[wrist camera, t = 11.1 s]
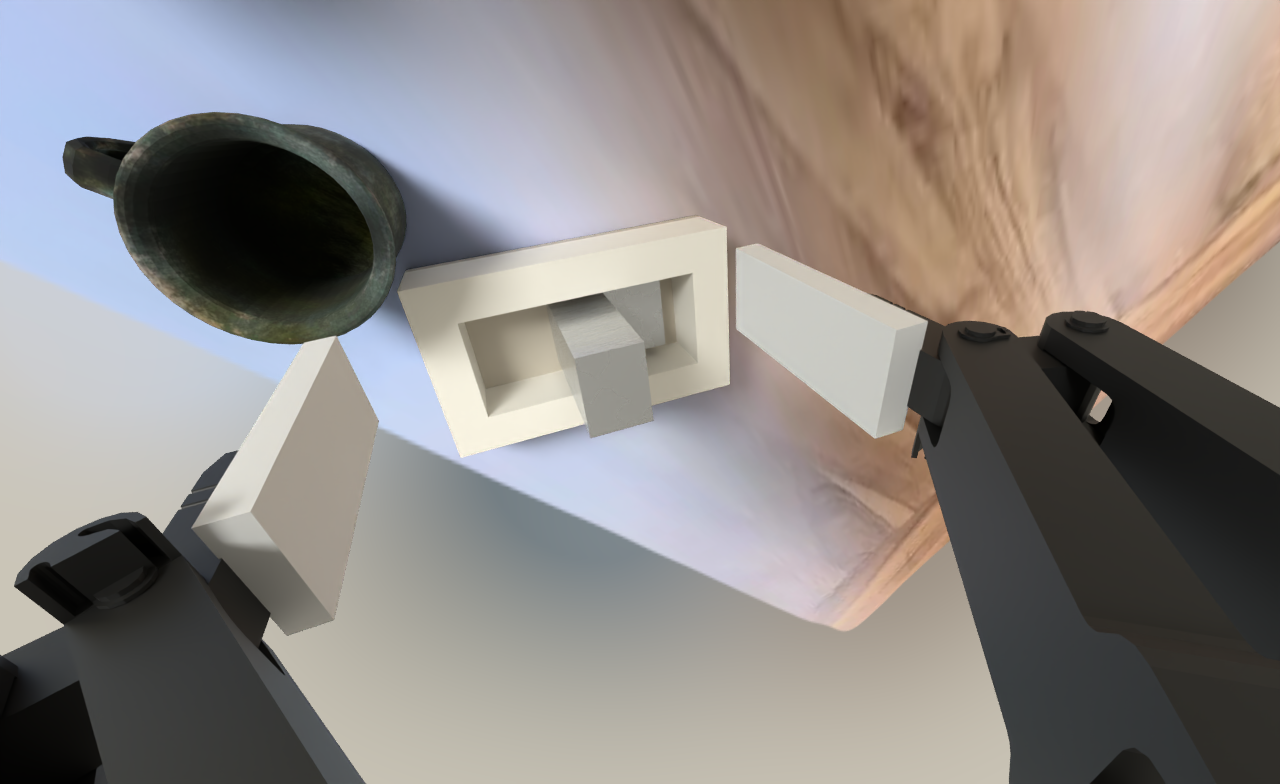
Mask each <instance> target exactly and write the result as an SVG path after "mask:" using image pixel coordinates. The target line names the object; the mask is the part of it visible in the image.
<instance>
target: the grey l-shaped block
mask: <svg viewBox="0 0 1280 784" xmlns="http://www.w3.org/2000/svg"><path fill="white" fill-rule="evenodd" d="M546 307H547V312H548V316H549V321H550V325H551V330H552V334H553V338H554V343H555V347H556V352H557V356H558V361H559V363H560V365H561V368H562V370H563V373H564V375H565V378H566V380H567V382H568V385H569V387H570V390H571V392H572V395H573V397H574V399H575V402H576V404H577V407H578V409H579V412H580V414H581V416H582V419H583V421H584V424H585V426H586V429H587V431H588V433H589V436H590V438H593V437H597V436H600V435H604V434H608V433H611V432H615V431H618V430H622V429H625V428H629V427H633V426H636V425H640V424H643V423H647V422H651V421H654V420H653V412H652V403H651V395H650V387H649V378H648V370H647V362H646V353H645V349H648V348H652V347H656V346H660V345H664V344H665V334H664V323H663V313H662V302H661V292H660V282H659V280H658V281H653V282H648V283H644V284H639V285H634V286H630V287H625V288H620V289H616V290H611V291H607V292H602V293H597V294H593V295H588V296H583V297H579V298H574V299H569V300H565V301H560V302H555V303H551V304H546Z"/></svg>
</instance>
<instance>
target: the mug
mask: <svg viewBox="0 0 1280 784" xmlns="http://www.w3.org/2000/svg"><path fill="white" fill-rule="evenodd" d="M63 163H64V169H65V173H66V174H67V175H68V176H69V177H70V178H71V179H72V180H73V181H74V182H76V183H77V184H78V185H79V186H81V187H82V188H85V189H88V190H90V191H93V192H96V193H98V194H101V195H104V196H106V197H109V198H112V199H113V200H114V214H115V218H116V221H117V225H118V229H119V233H120V235H121V237H122V239H123V241H124V243H125V246H126V248H127V250H128V252H129V254H130V255H131V257H132V258H133V260H134V261H135V263H136V264H137V266H138V267H139V268H140V270H141V271H142V272H143V273H144V275H145V276H146V277H147V278H148V279H149V280H150V281H151V282H152V284H153V285H154V286H155V287H156V288H157V289H158V290H160V291H161V292H162V293H163V294H164V295H165V296H166V297H168V298H169V299H170V300H171V301H172V302H173V303H175V304H176V305H178V306H179V307H181V308H182V309H184V310H185V311H186V312H188V313H189V314H191V315H192V316H194V317H196V318H198V319H200V320H202V321H204V322H205V323H207V324H209V325H211V326H213V327H216V328H218V329H221V330H223V331H226V332H228V333H231V334H234V335H237V336H241V337H244V338H248V339H251V340H256V341H262V342H268V343H277V344H304V343H305V342H309V341H314V340H318V339H323V338H327V337H332V336H340V335H343V334H346V333H347V332H349V331H351V330H353V329H355V328H357V327H359V326H360V325H361V324H363V323H364V322H365V321H367V320H368V319H369V318H370V317H372V315H373V314H374V313H375V312H376V311H377V310H378V309H379V308H380V306H381V305H382V303H383V302H384V300H385V298H386V297H387V295H388V293H389V291H390V288H391V285H392V282H393V279H394V273H395V266H396V257H397V255H398V253H399V251H400V249H401V247H402V244H403V241H404V238H405V232H406V212H405V207H404V203H403V200H402V197H401V194H400V192H399V190H398V188H397V186H396V184H395V182H394V180H393V179H392V177H391V176H390V175H389V173H388V172H387V171H386V169H385V168H384V167H383V166H382V165H381V164H380V163H379V162H378V160H377V159H376V158H375V157H373V156H372V155H371V154H370V153H369V152H367V151H366V150H365V149H364V148H362V147H361V146H359V145H358V144H356V143H355V142H353V141H352V140H350V139H348V138H346V137H344V136H342V135H340V134H338V133H335V132H332V131H329V130H326V129H323V128H319V127H314V126H309V125H295V124H279V123H276V122H273V121H270V120H267V119H264V118H259V117H254V116H249V115H244V114H239V113H221V112H210V113H200V114H191V115H187V116H183V117H180V118H176V119H172V120H169V121H167V122H165V123H163V124H161V125H159V126H157V127H155V128H153V129H151V130H150V131H149V132H147V133H146V134H145V135H144V136H143V137H141V138H140V139H139V140H138V141H136V142H131V141H124V140H117V139H110V138H98V137H82V138H77V139H74V140H71V141H68V142H66V145H65V149H64V153H63Z"/></svg>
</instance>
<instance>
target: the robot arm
mask: <svg viewBox="0 0 1280 784" xmlns="http://www.w3.org/2000/svg"><path fill="white" fill-rule="evenodd" d="M736 329H737V330H738V331H739V332H741V333H742V334H743V335H744V336H746V337H747V338H748V339H750V340H751V341H752V342H753V343H755V344H756V345H757V346H758V347H760V348H761V349H762V350H763V351H765V352H766V353H767V354H768V355H770V356H771V357H772V358H774V359H775V360H776V361H777V362H779V363H780V364H781V365H782V366H784V367H785V368H786V369H787V370H789V371H790V372H791V373H792V374H794V375H795V376H796V377H798V378H799V379H800V380H801V381H803V382H804V383H805V384H806V385H808V386H809V387H810V388H811V389H813V390H814V391H815V392H817V393H818V394H819V395H820V396H822V397H823V398H824V399H825V400H827V401H828V402H829V403H830V404H832V405H833V406H834V407H835V408H837V409H838V410H839V411H841V412H842V413H843V414H844V415H846V416H847V417H848V418H849V419H851V420H852V421H853V422H854V423H856V424H857V425H858V426H859V427H861V428H862V429H863V430H865V431H866V432H867V433H868V434H870V435H871V436H872V437H873V438H875V439H876V438H879V437H882V436H885V435H888V434H891V433H894V432H897V431H900V430H903V427H904V422H905V418H906V414H907V410H908V407H909V408H911V409H912V410H914V411H915V412H917V413H918V414H920V415H921V417H920V421H919V425H918V429H917V433H916V437H915V441H914V445H913V449H912V456H911V458H917V455H918V451H920V450H921V449H922V448H923V450H924V454H925V457H924V458H925V459H926V460H927V464H928V467H929V470H930V474H931V477H932V480H933V484H934V487H935V490H936V494H937V497H938V501H939V504H940V507H941V511H942V514H943V517H944V521H945V524H946V527H947V531H948V534H949V537H950V541H951V544H952V547H953V551H954V554H955V557H956V561H957V564H958V568H959V571H960V574H961V578H962V581H963V584H964V588H965V591H966V594H967V598H968V601H969V604H970V608H971V611H972V615H973V618H974V621H975V625H976V628H977V631H978V635H979V638H980V641H981V645H982V648H983V651H984V655H985V658H986V661H987V665H988V668H989V672H990V675H991V678H992V681H993V685H994V688H995V692H996V695H997V698H998V702H999V705H1000V709H1001V712H1002V715H1003V719H1004V722H1005V725H1006V729H1007V732H1008V737H1009V741H1010V752H1011V757H1010V772H1009V784H1280V408H1279V407H1277V406H1276V405H1273V404H1272V403H1270V402H1268V401H1266V400H1264V399H1262V398H1261V397H1259V396H1257V395H1255V394H1253V393H1251V392H1249V391H1248V390H1246V389H1244V388H1242V387H1240V386H1238V385H1236V384H1235V383H1233V382H1231V381H1229V380H1227V379H1225V378H1223V377H1221V376H1220V375H1218V374H1216V373H1214V372H1212V371H1210V370H1208V369H1206V368H1205V367H1203V366H1201V365H1199V364H1197V363H1196V362H1194V361H1192V360H1190V359H1188V358H1186V357H1184V356H1182V355H1181V354H1179V353H1177V352H1175V351H1173V350H1171V349H1169V348H1168V347H1166V346H1164V345H1162V344H1160V343H1158V342H1156V341H1155V340H1153V339H1151V338H1149V337H1147V336H1145V335H1143V334H1142V333H1140V332H1138V331H1136V330H1134V329H1132V328H1130V327H1129V326H1127V325H1125V324H1123V323H1121V322H1119V321H1116V320H1114V319H1111V318H1109V317H1105V316H1101V315H1099V314H1097V313H1094V312H1088V311H1087V312H1085V311H1074V312H1060V313H1054V314H1051V315H1050V316H1048V317H1046V320H1045V323H1044V325H1043V328H1042V331H1041V333H1040V336H1031V337H1019V338H1018V337H1017V336H1016V335H1015V334H1014V333H1012V332H1011V331H1010V330H1008V329H1006V328H1005V327H1001V326H998V325H995V324H990V323H986V322H977V321H961V322H955V323H951V324H948V325H947V326H946V327H945V326H943V325H941V324H939V323H937V322H934V321H932V320H930V319H928V318H926V317H923V316H921V315H919V314H917V313H915V312H912V311H910V310H905V308H903V307H901V306H899V305H897V304H893V303H892V302H890V301H888V300H886V299H884V298H881V297H879V296H877V295H873V294H868V293H865V292H863V291H861V290H859V289H857V288H854V287H852V286H850V285H848V284H846V283H843V282H841V281H839V280H837V279H835V278H832V277H830V276H828V275H826V274H824V273H822V272H819V271H817V270H815V269H813V268H811V267H808V266H806V265H804V264H802V263H800V262H798V261H795V260H793V259H791V258H789V257H787V256H784V255H782V254H780V253H778V252H776V251H773V250H771V249H769V248H767V247H765V246H763V245H760V244H758V243H757V244H753V245H748V246H744V247H739V248H736ZM1101 390H1102V391H1103V392H1105V393H1106V394H1107V395H1108V396H1109V397H1110V398H1111V399H1112V403H1111V405H1110V407H1109V409H1108V411H1107V413H1106V415H1105V416H1104V418H1103V419H1102V421H1101V422H1098V421H1096V420H1095V419H1094V418H1092V417H1091V416H1090V415H1089V414H1090V412H1091V410H1092V408H1093V406H1094V404H1095V402H1096V399H1097V397H1098V395H1099V393H1100V391H1101ZM378 422H379V420H378V418H377V416H376V414H375V412H374V410H373V408H372V406H371V404H370V402H369V400H368V398H367V396H366V394H365V392H364V390H363V388H362V386H361V384H360V382H359V380H358V378H357V376H356V374H355V372H354V370H353V368H352V366H351V364H350V362H349V360H348V358H347V356H346V354H345V352H344V350H343V348H342V346H341V344H340V342H339V340H338V338H337V336H332V337H327V338H323V339H318V340H314V341H309V342H305V343H304V344H303V345H302V347H301V348H300V350H299V352H298V353H297V355H296V357H295V358H294V360H293V362H292V363H291V365H290V367H289V368H288V370H287V371H286V373H285V375H284V376H283V378H282V380H281V381H280V383H279V385H278V386H277V388H276V390H275V391H274V393H273V395H272V396H271V398H270V399H269V401H268V403H267V404H266V406H265V408H264V409H263V411H262V413H261V414H260V416H259V418H258V419H257V421H256V422H255V424H254V426H253V428H252V429H251V431H250V432H249V434H248V436H247V437H246V439H245V441H244V442H243V444H242V446H241V447H240V449H239V450H238V451H234V452H230V453H226V454H224V455H223V456H222V457H221V458H220V459H219V460H217V461H216V462H215V463H214V464H213V465H212V466H210V467H209V468H208V469H207V470H206V471H204V472H203V474H202V475H201V477H200V478H199V480H198V481H197V483H196V484H195V486H194V487H193V489H192V490H191V491H192V494H189V495H188V496H187V498H186V499H185V501H184V502H183V504H182V505H181V507H182V509H181V510H178V511H177V513H176V514H175V516H174V517H173V519H172V520H171V522H170V523H169V525H168V526H167V528H166V529H165V531H164V532H163V534H162V533H161V532H160V531H159V530H158V529H157V528H156V527H155V526H154V525H153V524H152V522H151V521H150V520H149V519H148V518H147V517H146V516H144V515H142V514H140V513H138V512H129V513H119V514H116V515H112V516H109V517H105V518H101V519H99V520H97V521H94V522H92V523H89V524H87V525H85V526H83V527H80V528H78V529H76V530H74V531H72V532H70V533H69V534H67V535H65V536H63V537H62V538H60V539H58V540H57V541H55V542H53V543H52V544H50V545H49V546H48V547H46V548H45V549H44V550H43V551H41V552H40V553H38V554H37V555H36V556H34V557H33V558H32V559H31V560H30V561H29V562H28V563H27V564H26V565H25V567H24V568H23V569H22V570H21V571H20V572H19V573H18V575H17V578H16V581H15V585H14V587H15V588H17V589H18V590H19V591H21V592H22V593H23V594H25V595H26V596H27V597H29V598H30V599H31V600H32V601H34V602H35V603H36V604H38V605H39V606H40V607H42V608H43V609H44V610H45V611H47V612H48V613H49V614H51V615H52V616H53V617H55V618H56V619H57V620H58V621H60V622H61V623H62V624H64V627H62V628H60V629H58V630H56V631H53V632H51V633H49V634H47V635H45V636H43V637H41V638H39V639H37V640H35V641H33V642H31V643H28V644H26V645H24V646H22V647H20V648H18V649H16V650H14V651H11V652H9V653H7V654H5V655H3V656H1V655H0V784H366V783H365V782H364V781H363V779H362V778H361V776H360V775H359V773H358V772H357V771H356V769H355V768H354V766H353V765H352V764H351V762H350V761H349V759H348V758H347V756H346V755H345V753H344V752H343V751H342V749H341V748H340V746H339V745H338V743H337V742H336V740H335V739H334V738H333V736H332V735H331V733H330V732H329V730H328V729H327V728H326V727H325V725H324V723H323V722H322V720H321V719H320V718H319V716H318V715H317V713H316V712H315V710H314V709H313V707H312V706H311V705H310V703H309V702H308V700H307V699H306V697H305V696H304V695H303V693H302V692H301V691H300V689H299V688H298V686H297V685H296V683H295V682H294V681H293V679H292V677H291V676H290V675H289V673H288V672H287V670H286V669H285V667H284V666H283V664H282V663H281V662H280V660H279V659H278V657H277V656H276V655H275V653H274V652H273V650H272V649H271V648H270V647H269V646H268V645H267V644H266V643H265V642H264V641H263V640H262V637H263V633H264V631H265V628H266V625H267V622H268V620H269V617H271V618H272V620H273V621H274V622H275V623H276V624H277V625H278V626H279V627H280V629H282V631H283V632H284V633H285V634H286V635H287V636H288V635H291V634H294V633H297V632H300V631H303V630H306V629H309V628H312V627H315V626H318V625H321V624H324V623H327V622H330V621H333V620H334V619H335V614H336V610H337V605H338V601H339V596H340V592H341V587H342V583H343V578H344V574H345V570H346V565H347V561H348V556H349V552H350V547H351V543H352V538H353V534H354V529H355V525H356V520H357V516H358V511H359V507H360V503H361V498H362V494H363V489H364V485H365V480H366V476H367V471H368V467H369V462H370V458H371V453H372V449H373V445H374V439H375V435H376V431H377V427H378Z"/></svg>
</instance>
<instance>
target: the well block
mask: <svg viewBox="0 0 1280 784" xmlns="http://www.w3.org/2000/svg"><path fill="white" fill-rule="evenodd" d="M658 280H659V282H660V292H661V302H662V313H663V323H664V334H665V344H664V345H660V346H656V347H652V348H648V349H645V353H646V362H647V370H648V378H649V387H650V395H651V403H652V406H653V405H656V404H660V403H664V402H667V401H671V400H675V399H678V398H682V397H686V396H689V395H693V394H697V393H700V392H704V391H708V390H711V389H715V388H719V387H722V386H726V385H730V363H729V318H728V273H727V227H726V226H723V225H720V224H718V223H715V222H713V221H710V220H707V219H705V218H702V217H699V216H697V215H694V216H689V217H684V218H679V219H673V220H668V221H663V222H657V223H652V224H647V225H642V226H636V227H631V228H626V229H620V230H615V231H610V232H604V233H599V234H594V235H589V236H583V237H578V238H573V239H567V240H562V241H557V242H552V243H546V244H541V245H536V246H530V247H525V248H520V249H514V250H509V251H504V252H499V253H493V254H488V255H483V256H477V257H472V258H467V259H462V260H456V261H451V262H446V263H440V264H435V265H430V266H424V267H419V268H414V269H409V270H405V273H404V275H403V278H402V280H401V283H400V285H399V288H398V291H397V293H398V296H399V298H400V301H401V303H402V306H403V309H404V311H405V314H406V316H407V319H408V322H409V324H410V327H411V329H412V332H413V335H414V337H415V340H416V342H417V345H418V348H419V350H420V353H421V355H422V358H423V361H424V363H425V366H426V368H427V371H428V374H429V376H430V379H431V381H432V384H433V387H434V389H435V392H436V395H437V397H438V400H439V402H440V405H441V408H442V410H443V413H444V415H445V418H446V421H447V423H448V426H449V428H450V431H451V434H452V436H453V439H454V441H455V444H456V447H457V449H458V452H459V454H460V457H461V458H462V457H466V456H469V455H473V454H477V453H480V452H484V451H488V450H491V449H495V448H499V447H502V446H506V445H510V444H513V443H517V442H521V441H524V440H528V439H532V438H535V437H539V436H543V435H546V434H550V433H554V432H557V431H561V430H565V429H568V428H572V427H576V426H579V425H583V424H584V421H583V419H582V416H581V414H580V412H579V409H578V407H577V404H576V402H575V399H574V397H573V395H572V392H571V390H570V387H569V385H568V382H567V380H566V378H565V375H564V373H563V370H562V368H561V365H560V363H559V361H558V356H557V352H556V347H555V343H554V338H553V334H552V330H551V325H550V321H549V316H548V312H547V307H546V304H551V303H555V302H560V301H565V300H569V299H574V298H579V297H583V296H588V295H593V294H597V293H602V292H607V291H611V290H616V289H620V288H625V287H630V286H634V285H639V284H644V283H648V282H653V281H658Z"/></svg>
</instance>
